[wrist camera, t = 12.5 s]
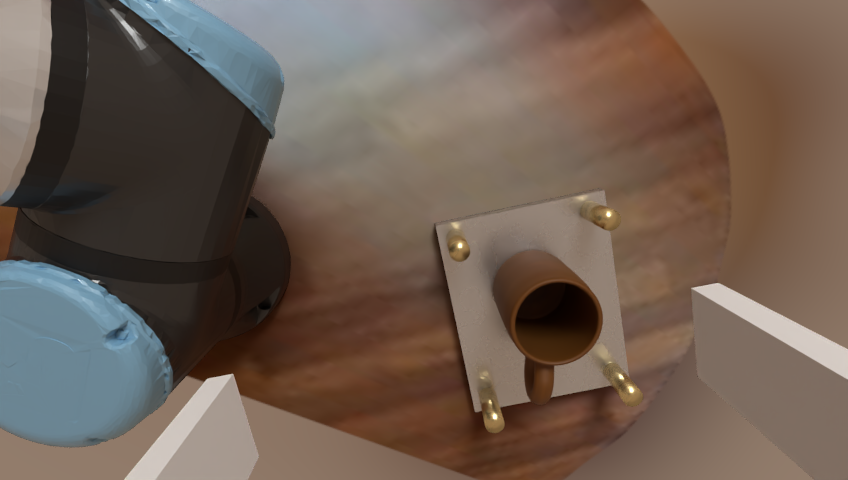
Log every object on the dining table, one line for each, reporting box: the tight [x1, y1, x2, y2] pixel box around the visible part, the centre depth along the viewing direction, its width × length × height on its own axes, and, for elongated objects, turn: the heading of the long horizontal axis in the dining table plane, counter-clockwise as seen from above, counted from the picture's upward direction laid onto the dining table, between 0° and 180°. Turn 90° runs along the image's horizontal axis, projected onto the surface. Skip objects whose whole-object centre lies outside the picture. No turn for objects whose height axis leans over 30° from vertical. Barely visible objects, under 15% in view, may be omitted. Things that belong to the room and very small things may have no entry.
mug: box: [493, 250, 603, 405], centre depth 43 cm, size 12×8×9 cm, turn 175°
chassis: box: [435, 188, 643, 433], centre depth 46 cm, size 16×20×6 cm
